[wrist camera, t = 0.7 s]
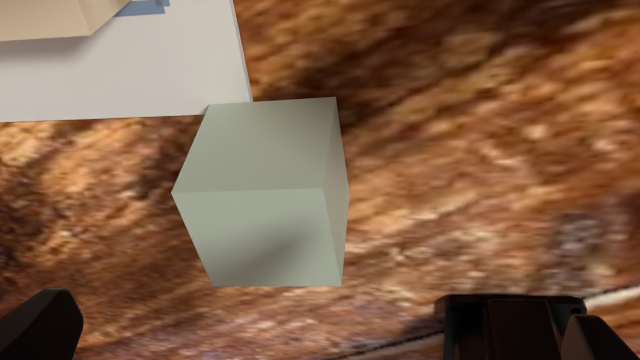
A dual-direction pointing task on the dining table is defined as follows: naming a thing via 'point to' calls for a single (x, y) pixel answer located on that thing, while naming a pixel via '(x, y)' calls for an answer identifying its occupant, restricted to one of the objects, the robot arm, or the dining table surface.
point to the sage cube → (267, 193)
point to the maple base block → (54, 17)
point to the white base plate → (129, 66)
